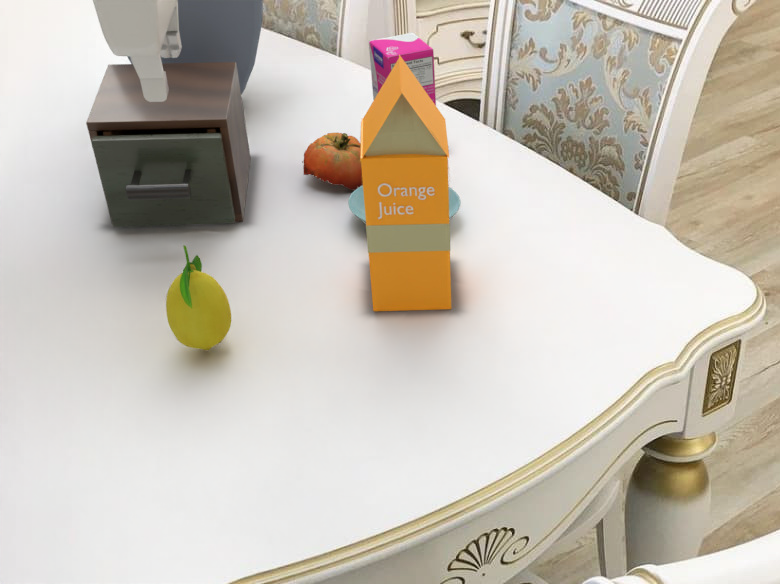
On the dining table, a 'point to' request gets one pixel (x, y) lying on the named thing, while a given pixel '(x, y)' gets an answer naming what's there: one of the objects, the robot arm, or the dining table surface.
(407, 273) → the orange juice
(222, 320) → the lemon
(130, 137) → the drawer
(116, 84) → the cabinet
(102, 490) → the dining table surface
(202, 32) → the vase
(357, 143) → the tomato
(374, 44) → the supplement box
